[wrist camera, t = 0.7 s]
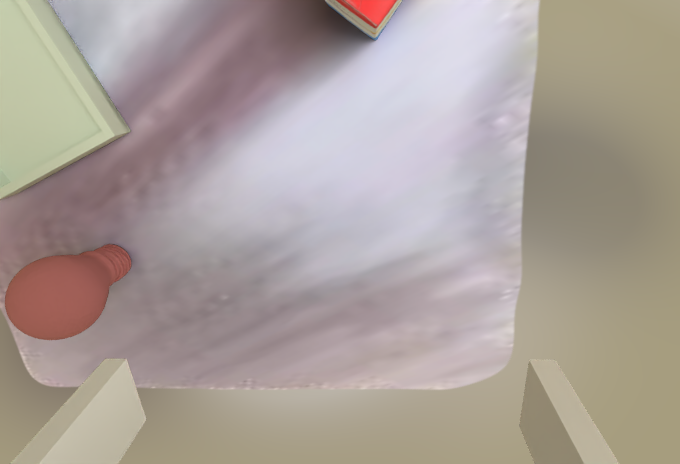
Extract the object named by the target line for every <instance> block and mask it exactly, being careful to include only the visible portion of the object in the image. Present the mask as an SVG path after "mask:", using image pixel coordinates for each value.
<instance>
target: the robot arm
mask: <svg viewBox="0 0 680 464" xmlns="http://www.w3.org/2000/svg"><path fill="white" fill-rule="evenodd" d="M145 421H146V417H145V413H144V411H143V408H142V404H141V401H140V398H139V396H138V392H137V389H136V386H135V383H134V380H133V377H132V374H131V371H130V368H129V365H128V362H127V359H105V360H104V361H103V362H102V363H101V364H100V365H99V366H98V367H97V368H96V369H95V371H94V372H93V373H92V374H91V375H90V376H89V377H88V378H87V379H86V380H85V382H84V383H83V384H82V385H81V386H80V387H79V388H78V389H77V390H76V392H75V393H74V394H73V395H72V396H71V397H70V398H69V399H68V400H67V401H66V403H65V404H64V405H63V406H62V407H61V408H60V409H59V410H58V411H57V413H56V414H55V415H54V416H53V417H52V418H51V419H50V420H49V421H48V422H47V424H46V425H45V426H44V427H43V428H42V429H41V430H40V431H39V432H38V433H37V435H36V436H35V437H34V438H33V439H32V440H31V441H30V442H29V443H28V445H27V446H26V447H25V448H24V449H23V450H22V451H21V452H20V453H19V454H18V456H17V457H16V458H15V459H14V460H13V461H12V462H11V463H10V464H118V463H119V462H120V460H121V459H122V457H123V455H124V454H125V452H126V451H127V449H128V447H129V446H130V444H131V443H132V441H133V440H134V438H135V437H136V435H137V433H138V432H139V430H140V429H141V427H142V426H143V424H144V422H145ZM519 426H520V429H521V431H522V434H523V436H524V439H525V441H526V444H527V446H528V448H529V451H530V453H531V456H532V458H533V461H534V463H535V464H619V463H618V461H617V460H616V458H615V456H614V455H613V453H612V451H611V450H610V448H609V447H608V445H607V443H606V442H605V440H604V438H603V437H602V435H601V434H600V432H599V430H598V429H597V427H596V426H595V424H594V422H593V420H592V419H591V417H590V416H589V414H588V412H587V411H586V409H585V408H584V406H583V404H582V403H581V401H580V399H579V398H578V396H577V395H576V393H575V391H574V390H573V388H572V387H571V385H570V383H569V382H568V380H567V378H566V377H565V375H564V373H563V372H562V370H561V369H560V367H559V365H558V364H557V362H556V361H555V360H529V364H528V371H527V378H526V384H525V391H524V398H523V404H522V411H521V418H520V424H519Z"/></svg>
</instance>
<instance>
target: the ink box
mask: <svg viewBox="0 0 680 464" xmlns="http://www.w3.org/2000/svg"><path fill="white" fill-rule="evenodd" d="M325 1H326V3H327V4H328V6H329V7H331V8H332V9H333V10H335V11H336V12H337V13H339V14H340V15H341V16H343V17H344V18H345V19H346V20H348V21H349V22H350V23H352V24H353V25H354V26H356V27H357V28H358V29H360V30H361V31H362V32H364V33H365V34H366V35H368V36H369V37H370V38H372V39H373V40H377V39H378V37H379V35H380V34H381V32H382V31H383V29H384V28H385V26H386V25H387V23H388V22H389V20H390V19H391V17H392V16H393V14H394V13H395V11H396V10H397V8H398V7H399V5H400V4H401V2H402V1H403V0H325Z"/></svg>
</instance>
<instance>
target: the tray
mask: <svg viewBox="0 0 680 464" xmlns="http://www.w3.org/2000/svg"><path fill="white" fill-rule="evenodd" d="M129 132H131V130H130V129H129V127H128V126H127V124H126V123H125V121H124V120H123V118H122V116H121V115H120V113H119V112H118V110H117V109H116V107H115V105H114V104H113V102H112V101H111V99H110V98H109V96H108V95H107V93H106V91H105V90H104V88H103V87H102V85H101V84H100V82H99V80H98V79H97V77H96V76H95V74H94V73H93V71H92V70H91V68H90V66H89V65H88V63H87V62H86V60H85V59H84V57H83V55H82V54H81V52H80V51H79V49H78V48H77V46H76V45H75V43H74V41H73V40H72V38H71V37H70V35H69V34H68V32H67V31H66V29H65V27H64V26H63V24H62V23H61V21H60V20H59V18H58V16H57V15H56V13H55V12H54V10H53V9H52V7H51V6H50V4H49V2H48V1H47V0H0V200H1V199H3V198H6V197H9V196H12V195H15V194H17V193H19V192H21V191H23V190H25V189H27V188H28V187H30V186H32V185H34V184H36V183H38V182H39V181H41V180H43V179H45V178H47V177H49V176H50V175H52V174H54V173H56V172H58V171H60V170H61V169H63V168H65V167H67V166H69V165H71V164H72V163H74V162H76V161H78V160H80V159H82V158H83V157H85V156H87V155H89V154H91V153H93V152H94V151H96V150H98V149H100V148H102V147H104V146H105V145H107V144H109V143H111V142H113V141H115V140H116V139H118V138H120V137H122V136H124V135H126V134H127V133H129Z"/></svg>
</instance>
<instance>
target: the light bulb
mask: <svg viewBox="0 0 680 464" xmlns="http://www.w3.org/2000/svg"><path fill="white" fill-rule="evenodd" d="M130 268H131V259H130V257H129V255H128V253H127V252H126V251H125V250H124V249H122V248H121V247H119V246H116V245H104V246H102V247H101V248H98V249H96V250H94V251H87V252H83V253H81V254H79V255H60V256H51V257H45V258H42V259H39V260H36V261H34V262H32V263H30V264H29V265H27V266H26V267H24V268H23V269H22V270H20V271H19V272H18V273H17V274H16V276H15V277H14V278H13V279H12V281H11V282H10V284H9V286H8V289H7V291H6V296H5V307H6V312H7V315H8V317H9V319H10V320H11V322H12V323H13V324H14V326H15V327H17V328H18V329H19V330H20V331H22V332H23V333H25V334H27V335H29V336H32V337H34V338H38V339H44V340H59V339H64V338H68V337H72V336H74V335H77V334H79V333H81V332H82V331H84V330H86V329H87V328H89V327H90V326H91V325H92V324H93V323H94V322H95V321H96V320H97V319H98V318H99V316H100V315H101V313H102V311H103V309H104V307H105V304H106V300H107V297H108V293H109V286H111V285H112V284H113V282H116V281H118V280H119V279H121V278H122V277H123V276H125V275H126V274H127V272H128V271H129V270H130Z"/></svg>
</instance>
